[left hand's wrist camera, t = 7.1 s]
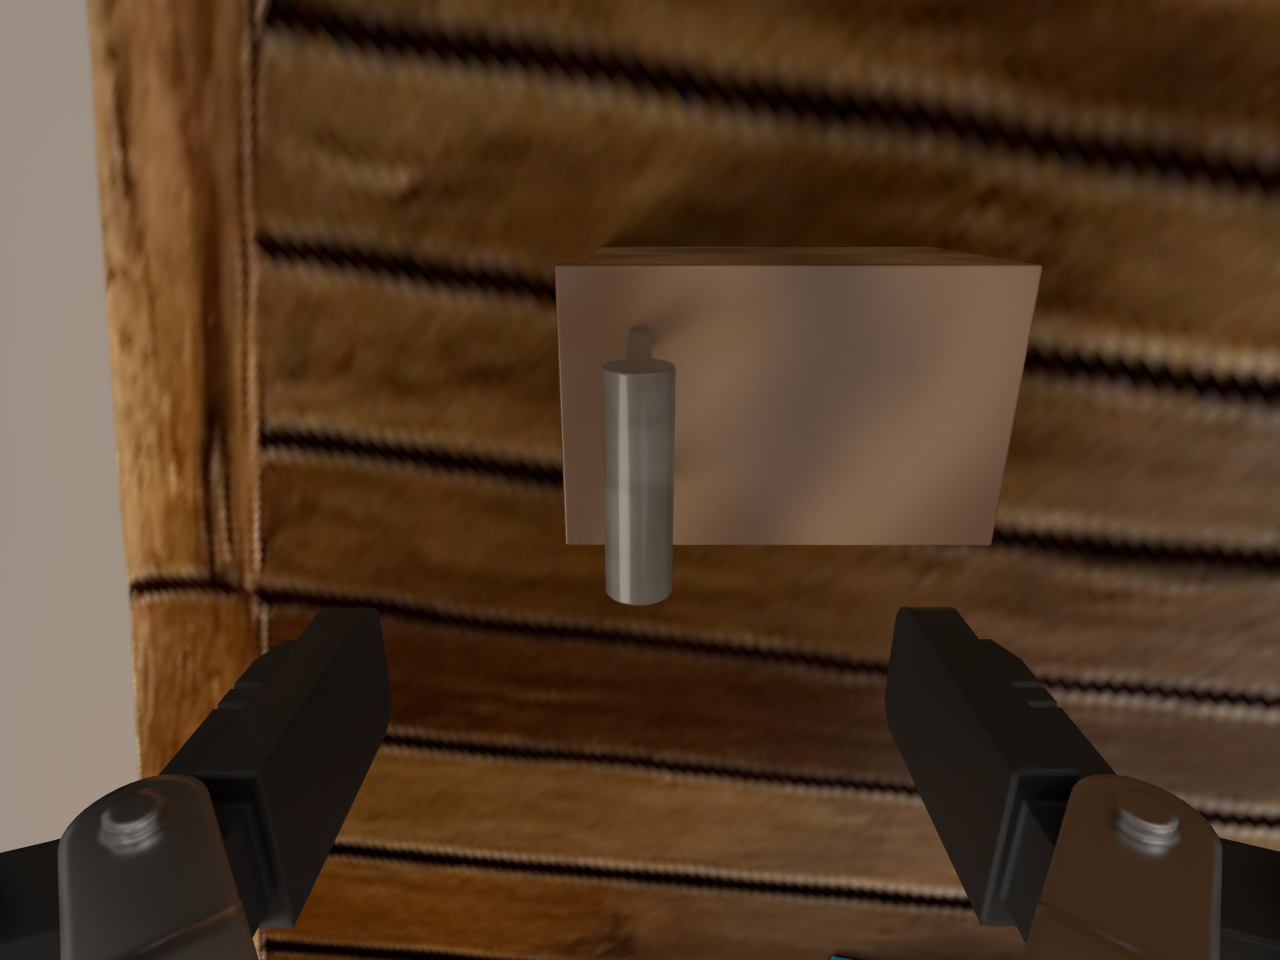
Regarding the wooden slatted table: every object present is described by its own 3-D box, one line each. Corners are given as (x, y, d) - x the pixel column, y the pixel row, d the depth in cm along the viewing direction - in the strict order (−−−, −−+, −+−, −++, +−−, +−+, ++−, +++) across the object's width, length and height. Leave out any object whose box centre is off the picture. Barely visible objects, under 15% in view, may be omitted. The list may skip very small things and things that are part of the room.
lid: (567, 535, 27) (539, 665, 19) (557, 263, 24) (518, 293, 16) (981, 535, 27) (1112, 665, 19) (1030, 262, 24) (1212, 293, 16)
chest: (603, 457, 35) (592, 534, 27) (599, 246, 32) (585, 262, 24) (902, 457, 35) (980, 535, 27) (930, 246, 32) (1029, 262, 24)
